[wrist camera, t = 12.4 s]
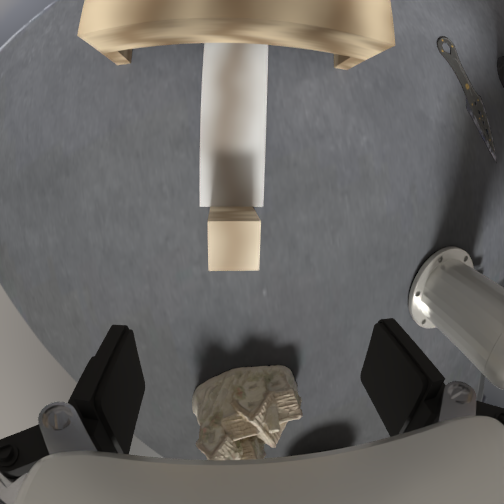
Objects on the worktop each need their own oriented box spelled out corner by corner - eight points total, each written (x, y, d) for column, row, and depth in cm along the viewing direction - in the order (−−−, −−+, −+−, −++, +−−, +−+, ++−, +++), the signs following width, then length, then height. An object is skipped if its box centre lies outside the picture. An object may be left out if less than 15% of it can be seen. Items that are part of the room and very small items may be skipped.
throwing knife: (446, 34, 25) (449, 33, 24) (501, 156, 31) (504, 157, 31) (430, 42, 25) (432, 41, 25) (488, 170, 32) (491, 170, 31)
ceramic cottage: (210, 442, 42) (218, 515, 28) (178, 374, 37) (174, 463, 23) (300, 422, 44) (328, 491, 30) (290, 349, 39) (329, 430, 25)
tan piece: (265, 20, 24) (280, -15, 16) (259, 240, 32) (271, 270, 24) (207, 18, 23) (204, -18, 16) (201, 241, 31) (196, 270, 24)
